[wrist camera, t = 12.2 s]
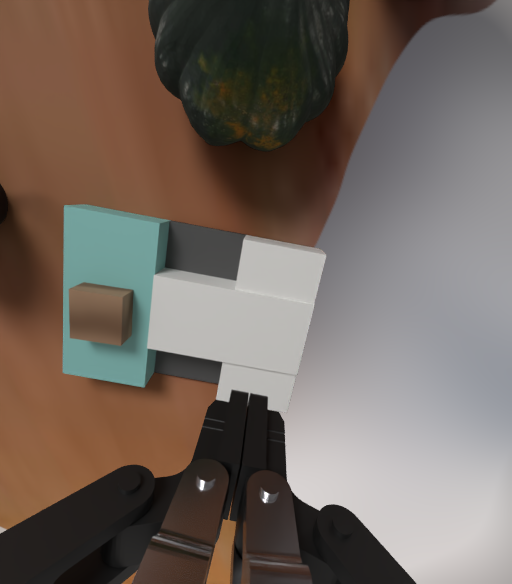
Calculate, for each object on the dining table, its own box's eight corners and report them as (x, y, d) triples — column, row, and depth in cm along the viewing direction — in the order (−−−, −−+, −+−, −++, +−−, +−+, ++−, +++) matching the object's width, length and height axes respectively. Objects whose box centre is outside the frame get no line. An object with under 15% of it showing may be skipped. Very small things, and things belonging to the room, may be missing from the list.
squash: (120, 134, 26) (223, 103, 15) (121, -97, 22) (258, -354, 12) (253, 165, 35) (376, 159, 24) (269, 4, 32) (424, -86, 21)
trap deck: (85, 204, 33) (62, 205, 29) (320, 248, 34) (327, 255, 30) (81, 356, 38) (61, 374, 35) (285, 393, 39) (287, 414, 35)
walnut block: (83, 282, 32) (68, 289, 29) (133, 289, 32) (122, 297, 29) (83, 327, 33) (69, 338, 31) (131, 335, 33) (120, 345, 31)
